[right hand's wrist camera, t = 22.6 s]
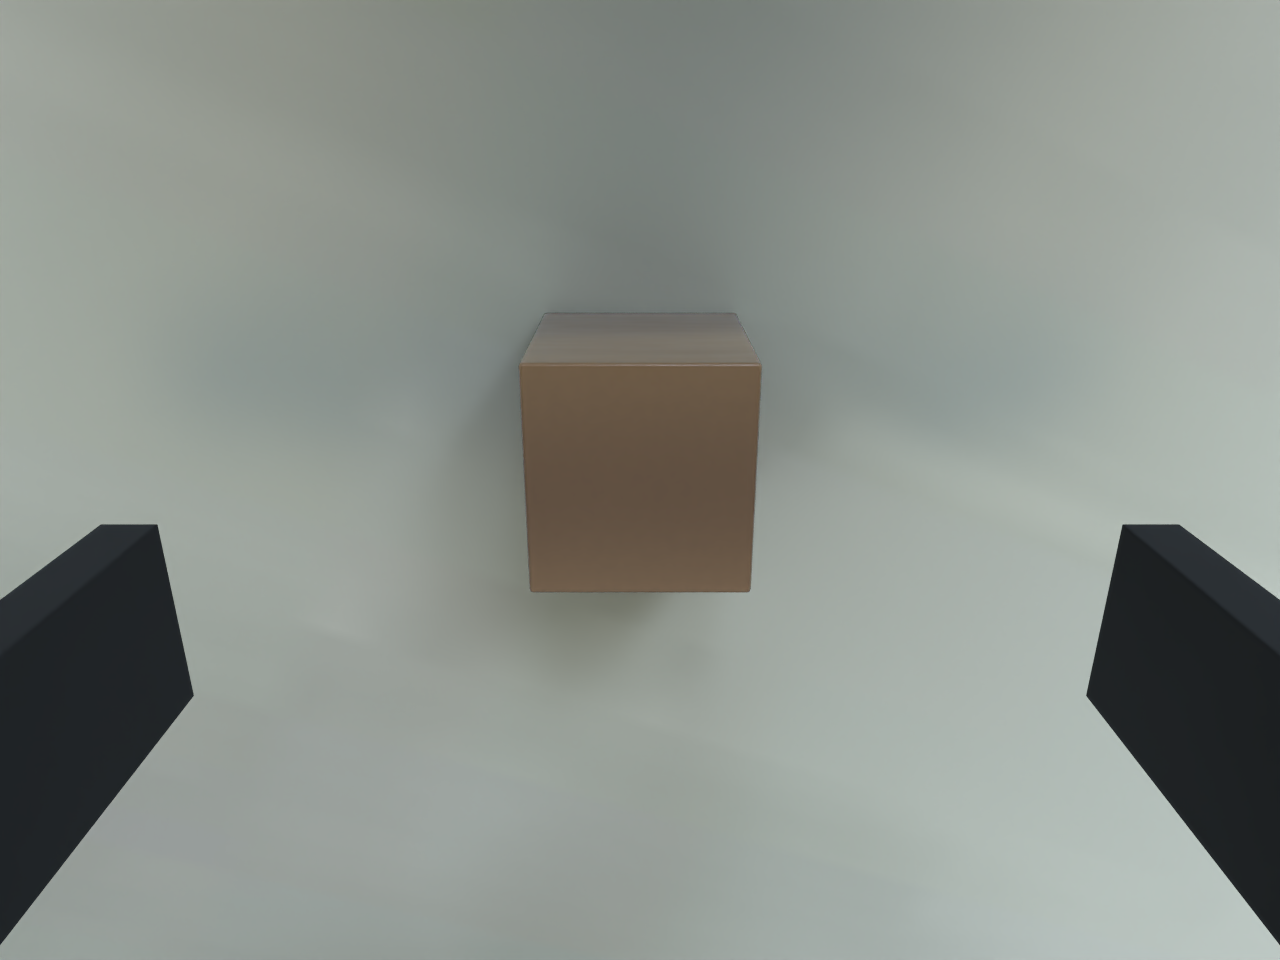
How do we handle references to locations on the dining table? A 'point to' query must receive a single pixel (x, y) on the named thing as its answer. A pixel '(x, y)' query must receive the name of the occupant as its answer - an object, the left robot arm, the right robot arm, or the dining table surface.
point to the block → (640, 452)
